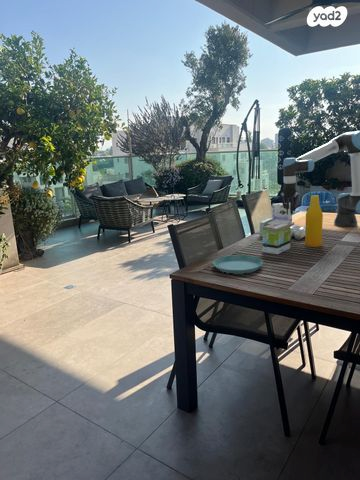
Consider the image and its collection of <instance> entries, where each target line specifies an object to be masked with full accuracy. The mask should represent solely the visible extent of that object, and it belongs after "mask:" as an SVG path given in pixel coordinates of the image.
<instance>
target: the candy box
mask: <svg viewBox="0 0 360 480" xmlns="http://www.w3.org/2000/svg"><path fill="white" fill-rule="evenodd" d="M271 207H272V209H271V211H272V214H271V215H272V216H271V218H273V220H285V221H292V222H293V218H292V219H288V214H287V213H286V209H285V208H283V203H282V202H279V203H272V205H271ZM289 209H290V202H289Z"/></svg>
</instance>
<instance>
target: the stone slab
mask: <svg viewBox="0 0 360 480" xmlns="http://www.w3.org/2000/svg"><path fill="white" fill-rule="evenodd" d="M274 223H284V224H292V223H293V220H292V221H285V220H273V221H271V222H269V223H267V226H268V225H271V224H274Z"/></svg>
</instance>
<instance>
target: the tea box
mask: <svg viewBox="0 0 360 480" xmlns="http://www.w3.org/2000/svg"><path fill="white" fill-rule="evenodd" d="M291 239H292V237H291V224H284V223H274V224H271V225H268V226H264V227H263V236H262V253H266V254H267V253H268V254H272V255H279V254H281V253H283V252H285V251H288V250H290V249H291Z"/></svg>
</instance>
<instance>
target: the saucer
mask: <svg viewBox="0 0 360 480" xmlns="http://www.w3.org/2000/svg"><path fill="white" fill-rule="evenodd" d="M263 263H264V261H263V260H262V259H261V258H260V257H257V256H253V255H248V254H234V255H233V254H231V255H225V256H220V257H218V258H216V259H214V260H213V263H212V264H213V266H214V267H215V268H216V270H218V271H219V270H220V271H219V272H221V271H222V272H221V273H224V272H226V273H225V274H229V273H233V274H232V275H245V274H244V273H246V274H251V273H254V272H256V271H257V270H259V269H260V268H261V267H262V266H263V265H264V264H263ZM218 266H219V267H222V268H225V269H222V268H219V267H218ZM226 268H227V269H226ZM228 269H230V270H228Z"/></svg>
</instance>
